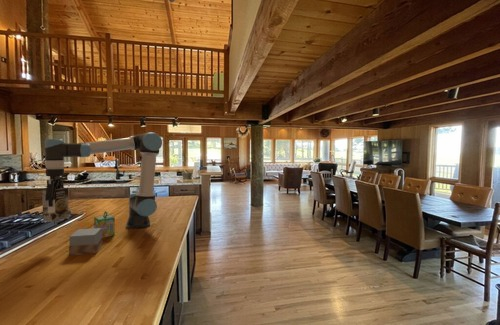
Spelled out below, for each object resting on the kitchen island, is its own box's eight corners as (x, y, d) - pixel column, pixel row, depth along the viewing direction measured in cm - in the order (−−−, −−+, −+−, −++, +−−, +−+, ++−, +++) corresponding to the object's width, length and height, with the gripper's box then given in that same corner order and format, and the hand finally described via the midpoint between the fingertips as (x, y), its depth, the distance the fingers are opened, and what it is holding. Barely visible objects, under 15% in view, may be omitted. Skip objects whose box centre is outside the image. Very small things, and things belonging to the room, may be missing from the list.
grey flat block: (101, 236, 132) (101, 228, 131) (95, 244, 121) (94, 234, 121) (78, 238, 128) (78, 229, 128) (69, 246, 118) (69, 236, 118)
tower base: (102, 245, 133) (102, 236, 133) (97, 253, 122) (97, 244, 122) (76, 247, 129) (76, 238, 129) (68, 256, 118) (68, 246, 117)
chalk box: (93, 235, 146) (93, 211, 145) (110, 232, 153) (110, 209, 152) (97, 239, 140) (97, 214, 139) (115, 235, 146) (115, 212, 146)
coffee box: (52, 222, 121) (51, 190, 120) (42, 221, 123) (41, 190, 122) (69, 217, 130) (68, 187, 129) (59, 216, 131) (59, 187, 131)
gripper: (55, 166, 134) (56, 205, 135) (35, 170, 113) (36, 216, 114) (71, 166, 137) (72, 204, 138) (54, 170, 116) (55, 215, 117)
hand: (56, 209), depth 126 cm, fingers closed on coffee box, 10 cm apart
